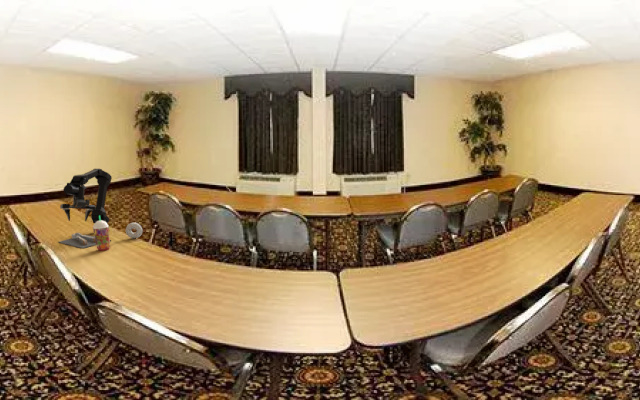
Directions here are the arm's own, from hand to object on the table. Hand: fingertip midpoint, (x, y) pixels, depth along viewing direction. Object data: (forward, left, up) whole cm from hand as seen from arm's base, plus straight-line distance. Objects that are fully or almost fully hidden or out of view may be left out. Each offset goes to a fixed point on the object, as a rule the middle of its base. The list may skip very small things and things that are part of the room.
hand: (77, 221), depth 294 cm
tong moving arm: (+2, +5, -12) cm, 13 cm away
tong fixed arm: (-2, +3, -12) cm, 13 cm away
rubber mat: (-1, +4, -13) cm, 13 cm away
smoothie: (+3, +30, -13) cm, 33 cm away
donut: (-21, +25, -13) cm, 35 cm away
